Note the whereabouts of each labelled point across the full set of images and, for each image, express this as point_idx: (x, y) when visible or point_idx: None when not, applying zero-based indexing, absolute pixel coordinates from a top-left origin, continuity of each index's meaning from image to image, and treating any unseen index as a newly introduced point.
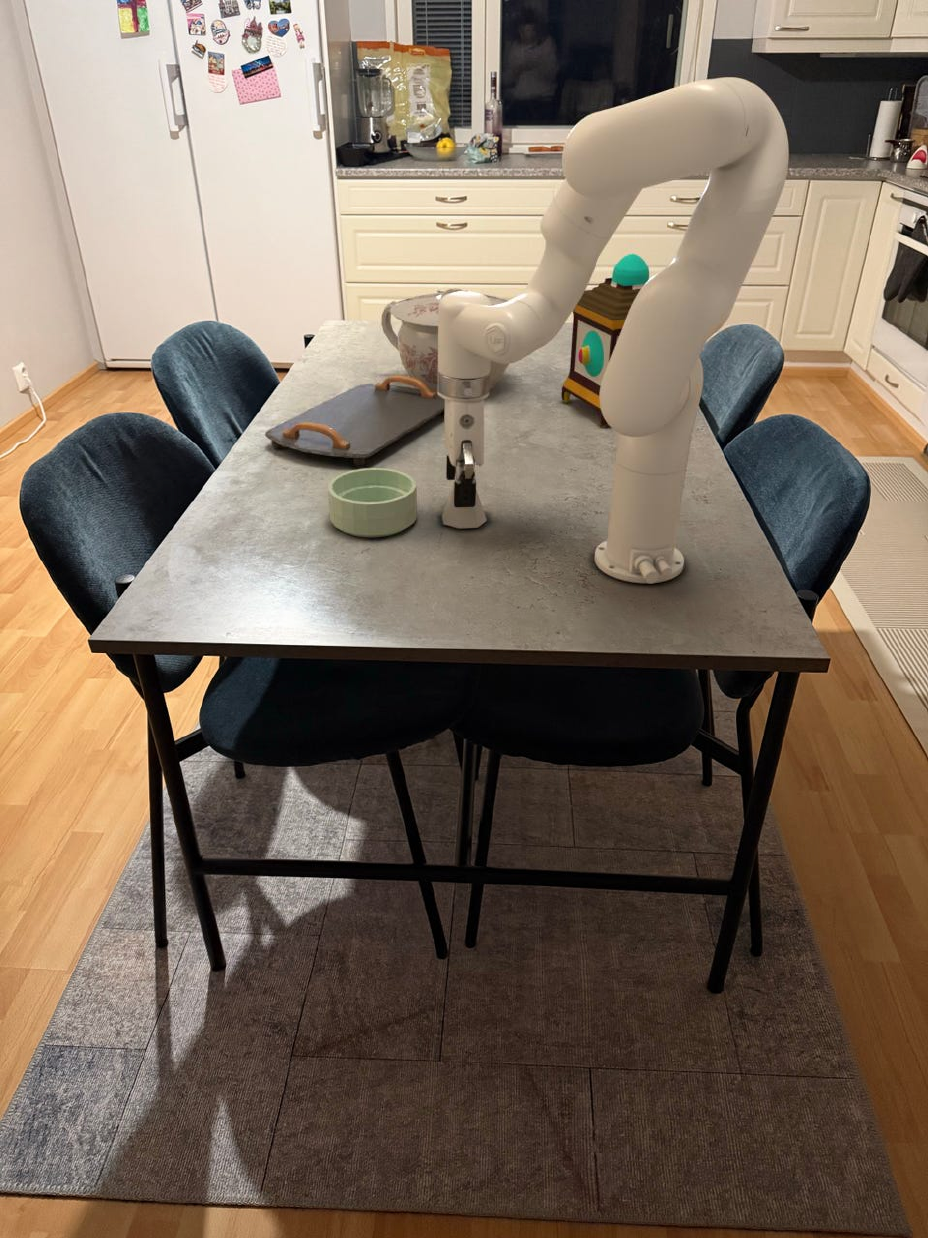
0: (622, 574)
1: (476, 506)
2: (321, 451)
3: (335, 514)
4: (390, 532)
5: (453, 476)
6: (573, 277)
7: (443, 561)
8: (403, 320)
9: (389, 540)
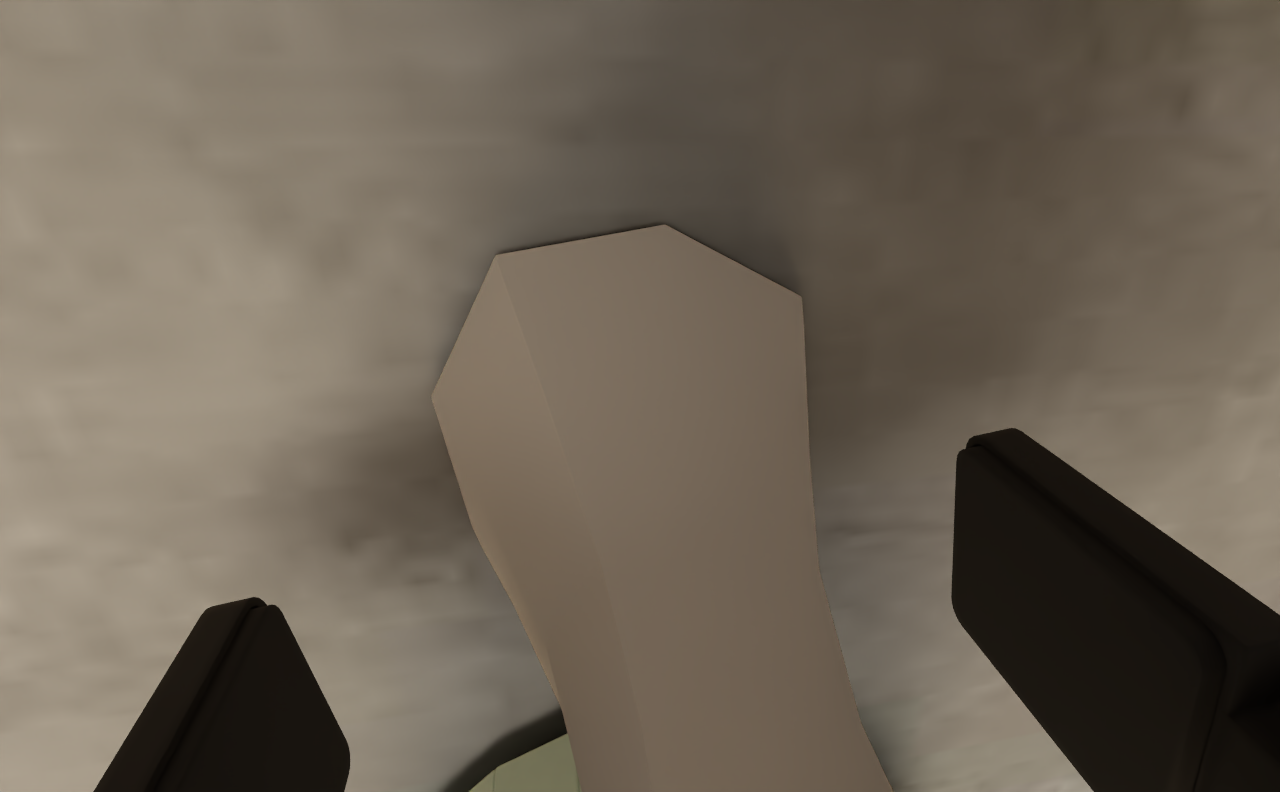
0: None
1: (766, 379)
2: None
3: None
4: (890, 785)
5: (320, 743)
6: None
7: (1208, 473)
8: None
9: (895, 751)
